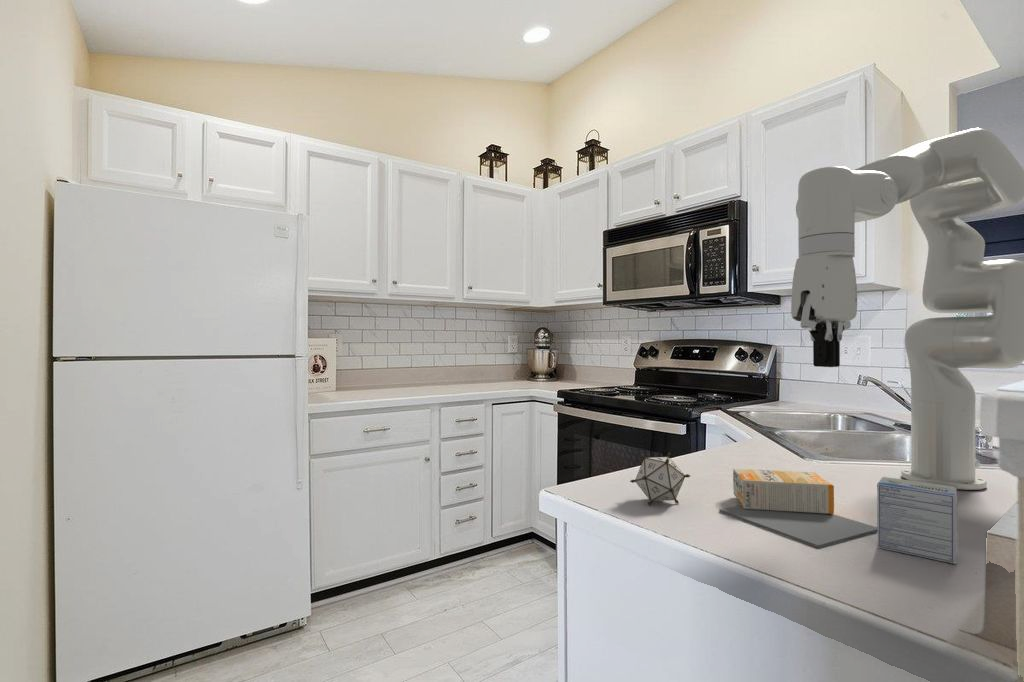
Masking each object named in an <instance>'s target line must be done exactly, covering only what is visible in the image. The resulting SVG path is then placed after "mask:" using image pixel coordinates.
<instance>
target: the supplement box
mask: <svg viewBox="0 0 1024 682" xmlns="http://www.w3.org/2000/svg"><path fill="white" fill-rule="evenodd" d="M732 471H733V472H732V480H733V481H732V484H733V485H732V488H733V495H734V496H735V498H736V500H737V501H738V502H739V505H742V506H743V508H744V509H755V510H773V511H789V512H806V513H822V514H834V513H835V485H834V484H832V483H830V482H829V481H828V480H826V479H824V478H823V477H821V476H819V474H817V473H816V472H813V471H812V472H809V471H808V472H807V471H794V470H791V471H788V470H772V469H771V470H770V469H768V470H767V469H751V468H750V469H749V468H735V467H734V468H733V470H732Z"/></svg>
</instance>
